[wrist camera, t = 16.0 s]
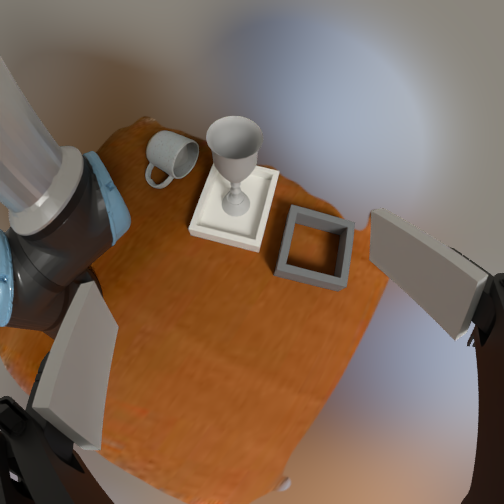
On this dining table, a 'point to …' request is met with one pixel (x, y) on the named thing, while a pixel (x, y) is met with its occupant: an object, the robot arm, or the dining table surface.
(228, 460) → the dining table surface
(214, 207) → the off-white tray
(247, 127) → the chalice
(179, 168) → the ceramic mug
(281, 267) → the charcoal collar
